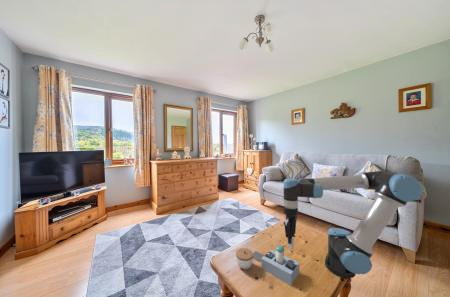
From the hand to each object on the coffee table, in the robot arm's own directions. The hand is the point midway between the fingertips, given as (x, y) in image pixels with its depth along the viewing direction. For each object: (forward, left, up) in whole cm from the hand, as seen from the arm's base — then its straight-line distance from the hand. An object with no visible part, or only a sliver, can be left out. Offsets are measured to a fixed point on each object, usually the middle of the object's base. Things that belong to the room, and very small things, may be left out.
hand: (290, 248), depth 92 cm
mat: (+23, -1, -16) cm, 28 cm away
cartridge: (+6, 0, -14) cm, 15 cm away
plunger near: (0, 0, -12) cm, 12 cm away
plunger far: (+13, 0, -13) cm, 18 cm away
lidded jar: (+24, +11, -16) cm, 31 cm away
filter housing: (+6, 0, -16) cm, 17 cm away
